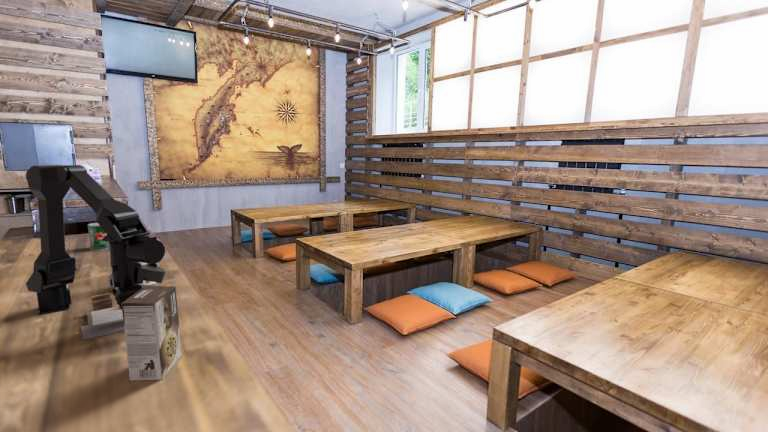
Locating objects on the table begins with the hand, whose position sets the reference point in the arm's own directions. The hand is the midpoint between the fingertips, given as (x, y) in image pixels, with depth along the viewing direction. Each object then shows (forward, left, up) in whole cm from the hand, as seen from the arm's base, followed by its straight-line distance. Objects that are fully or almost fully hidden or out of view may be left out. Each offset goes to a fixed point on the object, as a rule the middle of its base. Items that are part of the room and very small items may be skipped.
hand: (130, 317), depth 99 cm
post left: (-5, +10, -1) cm, 12 cm away
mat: (0, 0, -1) cm, 1 cm away
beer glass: (+9, +31, -2) cm, 33 cm away
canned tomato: (+1, +94, -2) cm, 94 cm away
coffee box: (+1, -28, -2) cm, 28 cm away
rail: (0, 0, +1) cm, 1 cm away
